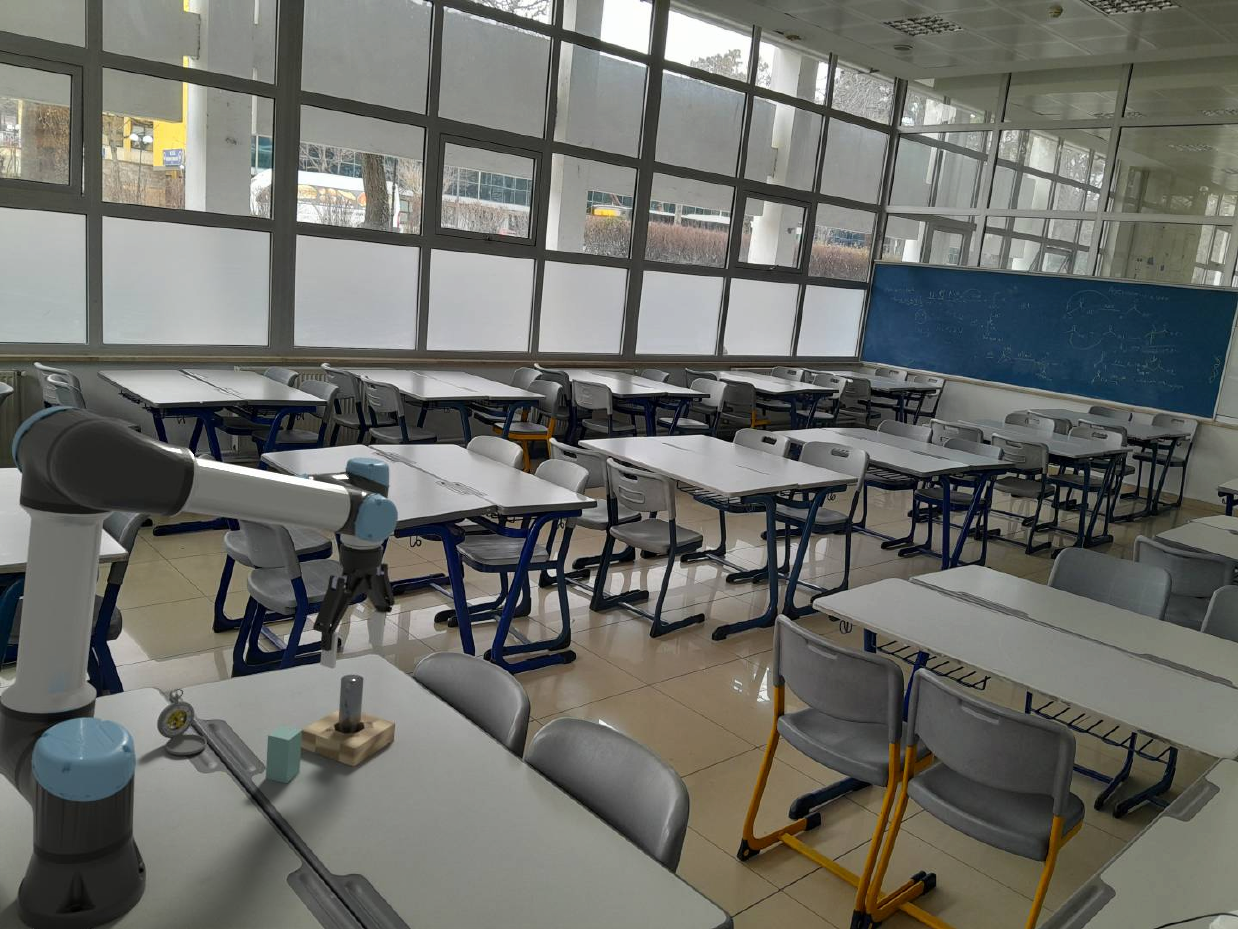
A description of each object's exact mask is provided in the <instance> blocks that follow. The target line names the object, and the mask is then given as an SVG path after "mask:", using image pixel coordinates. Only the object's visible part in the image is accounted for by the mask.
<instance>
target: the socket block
mask: <svg viewBox="0 0 1238 929" xmlns="http://www.w3.org/2000/svg"><path fill="white" fill-rule="evenodd" d="M338 720H339V709H336V710H335V711H333V712H332V713H330V714H328V715H326V716H324V717H322V718H321V719H319V720H317V721H315V722H313V723H311V724H310V725H308V726H306V727H304V728H303V729H301V730H302V739H301V749H304V750H307V751H309V752H312V753H315V754H318V755H321V756H324V757H326V758H328V759H329V758H330V759H331V760H334V761H337V762H340V763H342V764H346V765H348V766H351V767H356V766H357V765H358V764H360V763H361V762H363V761H364V760H366V759H367V758H369V757H370V756H372V755H373V754H375V753H376V752H378V751H380V750H381V749H382V748H384V747H386V746H387V745H389V744H390V743H392V742H394V740H395V730H396V722H393V721H390V720H387V719H384V718H381V717H377V716H374V715H372V714H369V713H366V712H363V711H361V723H360V731H359V732H358V733H348V734H344V733H341V732H338ZM388 743H389V744H388Z"/></svg>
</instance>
